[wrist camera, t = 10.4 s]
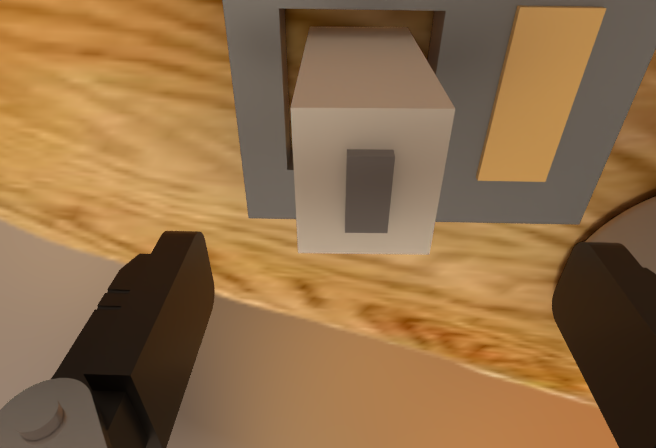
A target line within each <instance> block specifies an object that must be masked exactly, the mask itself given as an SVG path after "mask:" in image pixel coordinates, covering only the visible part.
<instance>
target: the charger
mask: <svg viewBox="0 0 656 448" xmlns="http://www.w3.org/2000/svg"><path fill="white" fill-rule="evenodd" d="M290 109H291V128H292V146H293V165H294V184H295V203H296V222H297V241H298V253H341V254H426V255H429V253H430V248H431V242H432V237H433V231H434V225H435V220H436V214H437V209H438V203H439V198H440V192H441V186H442V181H443V175H444V170H445V164H446V158H447V153H448V147H449V142H450V136H451V131H452V125H453V119H454V114H455V107H454V106H453V104H452V102H451V100H450V99H449V97H448V95H447V94H446V92H445V90H444V89H443V87H442V85H441V83H440V82H439V80H438V78H437V77H436V75H435V73H434V72H433V70H432V68H431V66H430V65H429V63H428V61H427V60H426V58H425V56H424V55H423V53H422V51H421V49H420V48H419V46H418V44H417V43H416V41H415V39H414V38H413V36H412V34H411V32H410V31H409V29H408V27H310V28H309V32H308V36H307V40H306V45H305V49H304V53H303V57H302V61H301V66H300V70H299V74H298V78H297V82H296V87H295V91H294V95H293V99H292V103H291V108H290Z"/></svg>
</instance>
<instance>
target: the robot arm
mask: <svg viewBox="0 0 656 448" xmlns="http://www.w3.org/2000/svg"><path fill="white" fill-rule="evenodd" d="M213 303H214V281H213V276H212V271H211V267H210V262H209V257H208V252H207V247H206V243H205V238H204V236H203V234H202V233H201V232H192V231H165V232H164V233H163V234H162V235H161V237H160V239H159V240H158V242H157V244H156V246H155V247H154V249H153V251H152V253H151V254H139V255H137V256H136V257H135V258H134V259H132V260H131V261H130V262H129V263H128V264H126V265H125V266H124V267H123V268H121V269H120V270H119V272H118V274H117V275H116V277H115V278H114V280H113V282H112V283H111V285H110V286H109V288H108V292H107V293H105V294H104V296H103V297H102V299H101V301H100V302H99V304H98V308H97V310H94V312H93V313H92V315H91V317H90V318H89V320H88V322H87V323H86V325H85V326H84V328H83V329H82V331H81V333H80V334H79V336H78V337H77V339H76V341H75V342H74V344H73V345H72V347H71V349H70V350H69V352H68V354H67V355H66V357H65V358H64V360H63V361H62V363H61V365H60V366H59V368H58V369H57V371H56V373H55V374H54V375H53V377H52V378H51V379H50V380H46V381H43V382H40V383H38V384H35V385H33V386H31V387H29V388H27V389H25V390H24V391H22V392H21V393H19V394H18V395H16V396H15V397H14V398H12V399H11V400H10V401H9V402H8V403H7V404H6V405H5V406H4V407H3V408H2V409H1V410H0V448H166V447H167V444H168V441H169V438H170V435H171V432H172V429H173V426H174V423H175V420H176V417H177V414H178V411H179V408H180V405H181V402H182V399H183V396H184V393H185V390H186V387H187V384H188V381H189V378H190V375H191V372H192V369H193V366H194V363H195V360H196V357H197V354H198V350H199V348H200V345H201V342H202V339H203V336H204V333H205V330H206V327H207V324H208V321H209V318H210V315H211V311H212V308H213ZM552 311H553V316H554V319H555V322H556V324H557V326H558V328H559V330H560V332H561V334H562V336H563V338H564V340H565V341H566V343H567V345H568V347H569V349H570V351H571V353H572V355H573V357H574V359H575V361H576V363H577V365H578V367H579V369H580V371H581V373H582V375H583V377H584V379H585V381H586V383H587V385H588V387H589V389H590V391H591V393H592V395H593V397H594V399H595V401H596V403H597V405H598V407H599V409H600V411H601V413H602V414H603V417H604V418H605V420H606V422H607V424H608V426H609V428H610V430H611V432H612V434H613V436H614V438H615V440H616V442H617V444H618V446H619V448H656V274H655V273H654V272H652V271H651V270H649V269H648V268H643V267H642V266H641V265H640V264H639V262H638V261H637V260H636V259H635V258H634V256H633V255H632V254H631V253H630V252H629V250H628V249H627V248H626V247H625V246H624V245H622V244H620V243H610V242H579V243H578V244H576V245H575V247H574V248H573V250H572V252H571V254H570V257H569V259H568V261H567V264H566V266H565V268H564V270H563V273H562V275H561V277H560V280H559V282H558V284H557V287H556V289H555V291H554V294H553V298H552Z"/></svg>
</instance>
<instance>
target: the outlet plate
mask: <svg viewBox="0 0 656 448" xmlns="http://www.w3.org/2000/svg"><path fill="white" fill-rule="evenodd" d="M222 1H223V9H224V17H225V26H226V34H227V42H228V50H229V59H230V67H231V75H232V84H233V92H234V100H235V108H236V117H237V125H238V133H239V142H240V150H241V158H242V166H243V175H244V183H245V191H246V200H247V208H248V216H249V218H267V219H296V203H295V184H294V165H293V150H291V136H290V114H289V91H288V69H287V47H286V25H285V9H354V10H425V11H434V17H433V24H432V31H431V38H430V45H429V53H428V60H427V61H428V63H429V65H430V66H431V68H432V70H433V72H434V73H435V75H436V77H437V78H438V80H439V82H440V83H441V85H442V87H443V89H444V90H445V92H446V94H447V95H448V97H449V99H450V100H451V102H452V104H453V106H454V107H455V114H454V119H453V125H452V131H451V136H450V142H449V147H448V153H447V158H446V164H445V170H444V175H443V181H442V186H441V192H440V198H439V203H438V209H437V214H436V220H435V222H477V223H530V224H580V221H581V219H582V217H583V214H584V212H585V210H586V208H587V205H588V203H589V201H590V198H591V196H592V194H593V191H594V189H595V187H596V185H597V182H598V180H599V178H600V175H601V173H602V171H603V168H604V166H605V164H606V162H607V159H608V157H609V155H610V152H611V150H612V148H613V145H614V143H615V141H616V139H617V136H618V134H619V132H620V129H621V127H622V125H623V122H624V120H625V118H626V116H627V113H628V111H629V109H630V106H631V104H632V102H633V99H634V97H635V95H636V93H637V90H638V88H639V86H640V83H641V81H642V79H643V76H644V74H645V72H646V70H647V67H648V65H649V63H650V60H651V58H652V56H653V53H654V51H655V49H656V0H222Z"/></svg>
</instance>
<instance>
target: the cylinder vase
mask: <svg viewBox="0 0 656 448" xmlns="http://www.w3.org/2000/svg"><path fill="white" fill-rule="evenodd" d="M585 242H610V243H620V244H622V245H624V246H625V247H626V248H627V249H628V250H629V252H630V253H631V254H632V255H633V256H634V258H635V259H636V260H637V261H638V262H639V264H640V265H641V266H642V267H643V268H648V269H649V270H651V271H652V272H654V273H655V274H656V196H655V197H653V198H650V199H648V200H646V201H643V202H641V203H639V204H637V205H635V206H633V207H631V208H629V209H628V210H626V211H624V212H622V213H621V214H619V215H617V216H616V217H614V218H613V219H611V220H610V221H609V222H607V223H606V224H604V225H603V226H602V227H601V228H599V229H598V230H597V231H596V232H595V233H593V234H592V235H591V236H590V237H589V238H588V239H587V240H586V241H585Z"/></svg>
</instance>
